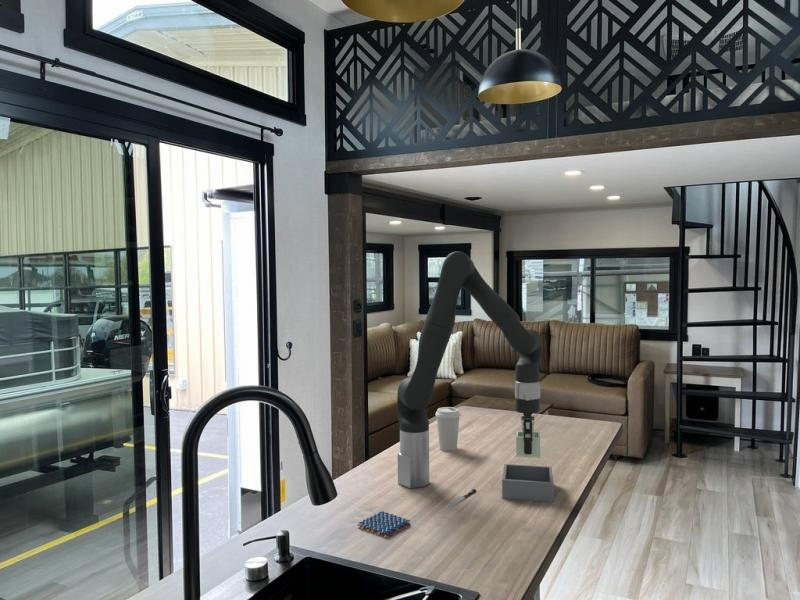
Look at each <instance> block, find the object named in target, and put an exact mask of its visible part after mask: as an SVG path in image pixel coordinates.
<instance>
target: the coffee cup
mask: <svg viewBox="0 0 800 600" xmlns="http://www.w3.org/2000/svg"><path fill="white" fill-rule="evenodd" d="M461 415H462V414H461V412H460V410H459V408H457V407H453V406H451V407H450V406H444V407H438V408H437V410H436V411H435V416H436V422H437V434H438V435H437V436H438V445H439V450H440V449H441V450H440V451H442V450H444V451H443V452H454V451H453V450H455V451H456V449H458V437H459V436H458V435H459V425H460V417H461Z"/></svg>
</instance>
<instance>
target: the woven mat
mask: <svg viewBox="0 0 800 600" xmlns="http://www.w3.org/2000/svg"><path fill="white" fill-rule="evenodd" d="M410 521H411V520H410V519H407V518H406V517H405V518H403V517H402V516H398V515H395V514H394V513H389V512H386V511H383V510H382V511H379V512H378V513H375V514H374V515H371V516H370V517H367V518H366V519H363V520H362V521H358V524H357V526H358V528H357V529H360V530H363V531H364V532H366V531H367V532H368V533H369V532H370V533H371V534H374V535H377V536H379V537H380V538H382V537H383V538H384V539H385V538H386V539H387V538H389V537H392V536H393V535H394V534H395V533H398V532H399V531H401V530H403V529H405V528H406V527H408V526H410V525H411V523H410Z"/></svg>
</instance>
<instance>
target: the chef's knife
mask: <svg viewBox="0 0 800 600" xmlns="http://www.w3.org/2000/svg"><path fill="white" fill-rule="evenodd" d="M474 492H475V493H476V492H477V489H475V488H473V489H472V490H470V491H469V492H468V493H466V494H464V495H463V496H456V497H455V498H454V499H452V500H451V501H450V502H449V503H448V504H449V505H448V504H447V506H448V507H447V506H446V508H445V510H450V509H452V508H453V507H455V506H456V505H458V504H459V503H461V502H463V501H464V500H466V499H467V498H468V497H470V496H471V495H473V494H474ZM465 498H466V499H465ZM454 505H455V506H454Z"/></svg>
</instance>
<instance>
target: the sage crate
mask: <svg viewBox="0 0 800 600" xmlns="http://www.w3.org/2000/svg"><path fill="white" fill-rule="evenodd" d="M515 433H516V436H515V437H516V438H515V441H516V442H515V448H516V450H515V455H516V456H515V457H516V458H519V457H520V458H536V459H537V458H540V459H541V433H540V432H539V431H534V434H532V439H533V441H532V454H525V453H524V440H523V438H524V434H523V433H522V431H519V430H518V431H515ZM526 437H530V434H526V435H525V438H526Z"/></svg>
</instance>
